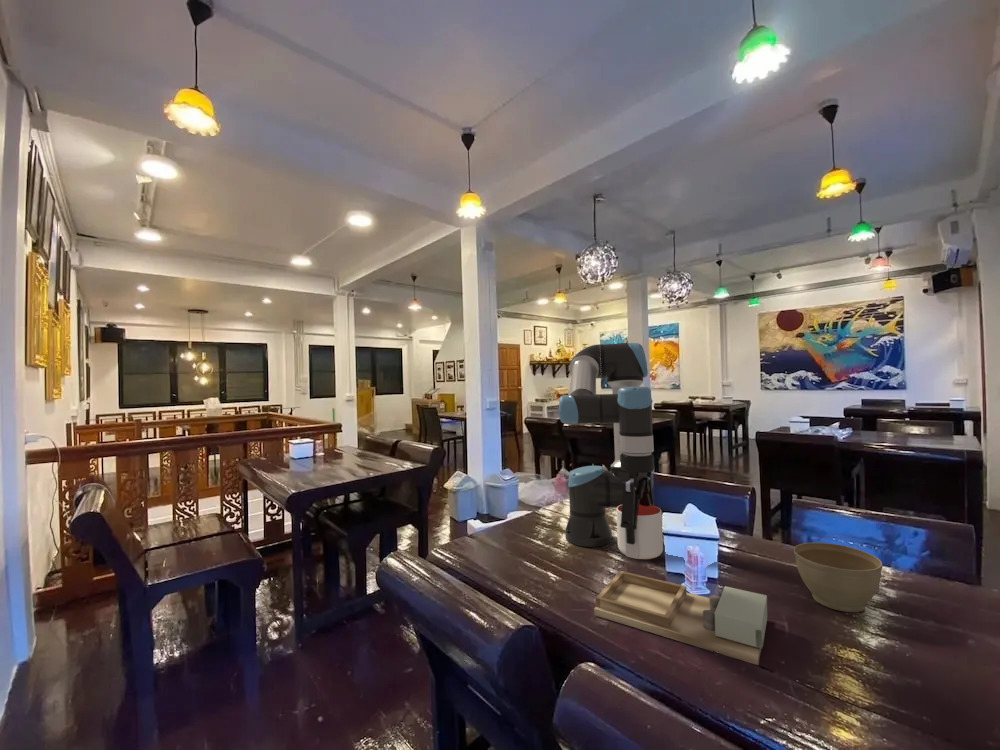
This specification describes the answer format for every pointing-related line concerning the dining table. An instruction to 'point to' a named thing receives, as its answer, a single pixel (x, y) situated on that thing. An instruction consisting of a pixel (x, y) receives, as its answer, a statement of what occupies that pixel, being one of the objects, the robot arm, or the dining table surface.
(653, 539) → the cup
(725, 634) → the cover
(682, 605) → the board
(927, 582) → the dining table surface
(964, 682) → the dining table surface
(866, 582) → the planter bowl
